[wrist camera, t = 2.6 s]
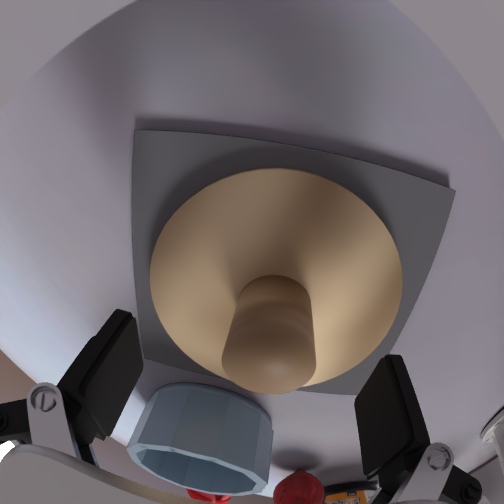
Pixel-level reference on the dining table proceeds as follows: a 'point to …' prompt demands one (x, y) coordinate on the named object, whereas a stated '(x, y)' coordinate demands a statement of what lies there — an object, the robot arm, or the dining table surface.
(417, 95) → the dining table surface
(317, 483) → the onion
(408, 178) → the mat
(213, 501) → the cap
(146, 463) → the bowl
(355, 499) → the supplement container
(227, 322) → the lid
